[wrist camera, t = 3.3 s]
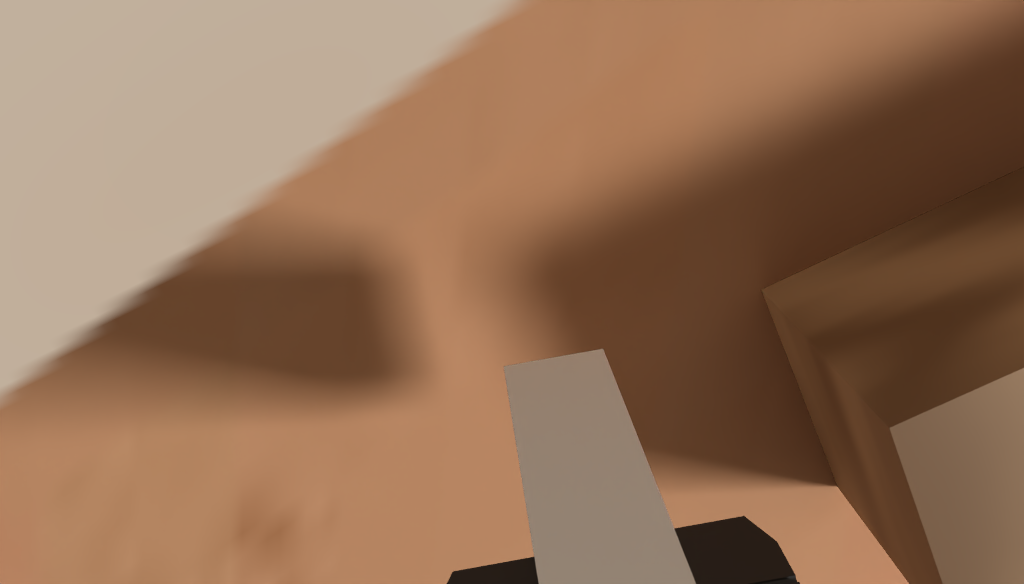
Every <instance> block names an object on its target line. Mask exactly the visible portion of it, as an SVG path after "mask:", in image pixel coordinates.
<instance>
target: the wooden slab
mask: <svg viewBox="0 0 1024 584" xmlns="http://www.w3.org/2000/svg"><path fill="white" fill-rule="evenodd" d="M761 291H762V293H763V296H764V298H765V301H766V303H767V306H768V309H769V311H770V314H771V316H772V319H773V321H774V324H775V327H776V329H777V332H778V334H779V337H780V340H781V342H782V345H783V347H784V350H785V352H786V355H787V358H788V360H789V363H790V365H791V368H792V371H793V373H794V376H795V378H796V381H797V383H798V386H799V389H800V391H801V394H802V396H803V399H804V401H805V404H806V407H807V409H808V412H809V414H810V417H811V420H812V422H813V425H814V427H815V430H816V432H817V435H818V438H819V440H820V443H821V445H822V448H823V450H824V453H825V456H826V458H827V461H828V463H829V466H830V469H831V471H832V474H833V476H834V479H835V481H836V484H837V487H838V488H839V489H840V491H841V492H842V493H843V495H844V496H845V497H846V499H847V500H848V501H849V503H850V504H851V505H852V507H853V508H854V509H855V511H856V512H857V514H858V515H859V516H860V518H861V519H862V520H863V522H864V523H865V524H866V526H867V527H868V528H869V530H870V531H871V532H872V534H873V535H874V537H875V538H876V539H877V541H878V542H879V543H880V545H881V546H882V547H883V549H884V550H885V551H886V553H887V554H888V555H889V557H890V558H891V559H892V561H893V562H894V564H895V565H896V566H897V568H898V569H899V570H900V572H901V573H902V574H903V576H904V577H905V578H906V580H907V581H908V582H909V584H1024V167H1023V168H1021V169H1018V170H1016V171H1014V172H1012V173H1010V174H1008V175H1006V176H1003V177H1001V178H999V179H997V180H995V181H993V182H991V183H988V184H986V185H984V186H982V187H980V188H978V189H976V190H973V191H971V192H969V193H967V194H965V195H963V196H961V197H959V198H956V199H954V200H952V201H950V202H948V203H946V204H944V205H941V206H939V207H937V208H935V209H933V210H931V211H929V212H926V213H924V214H922V215H920V216H918V217H916V218H914V219H911V220H909V221H907V222H905V223H903V224H901V225H899V226H896V227H894V228H892V229H890V230H888V231H886V232H884V233H881V234H879V235H877V236H875V237H873V238H871V239H869V240H866V241H864V242H862V243H860V244H858V245H856V246H854V247H851V248H849V249H847V250H845V251H843V252H841V253H839V254H836V255H834V256H832V257H830V258H828V259H826V260H824V261H822V262H819V263H817V264H815V265H813V266H811V267H809V268H807V269H804V270H802V271H800V272H798V273H796V274H794V275H792V276H789V277H787V278H785V279H783V280H781V281H779V282H777V283H774V284H772V285H770V286H768V287H766V288H764V289H762V290H761Z"/></svg>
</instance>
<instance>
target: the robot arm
mask: <svg viewBox="0 0 1024 584" xmlns="http://www.w3.org/2000/svg"><path fill="white" fill-rule="evenodd" d="M504 371H505V377H506V384H507V390H508V396H509V402H510V408H511V415H512V421H513V427H514V433H515V440H516V446H517V452H518V458H519V464H520V471H521V477H522V483H523V489H524V496H525V502H526V508H527V514H528V520H529V527H530V533H531V539H532V545H533V552H534V557H531V558H525V559H520V560H514V561H509V562H503V563H498V564H492V565H487V566H481V567H476V568H470V569H465V570H459V571H454V572H452V575H451V577H450V579H449V581H448V583H447V584H800V583H799V582H797V580H796V576H795V574H794V572H793V570H792V568H791V566H790V565H789V563H788V561H787V559H786V557H785V556H784V554H783V552H782V550H781V548H780V546H779V545H778V543H777V541H775V540H774V539H773V538H772V537H770V536H769V535H768V534H766V533H765V532H764V531H763V530H761V529H760V528H759V527H757V526H756V525H755V524H754V523H752V522H751V521H750V520H748V519H747V518H746V517H745V516H742V517H736V518H731V519H725V520H719V521H714V522H708V523H703V524H697V525H692V526H686V527H681V528H675V529H674V527H673V524H672V522H671V519H670V517H669V514H668V512H667V509H666V507H665V504H664V502H663V499H662V496H661V494H660V491H659V489H658V486H657V484H656V481H655V479H654V476H653V474H652V471H651V469H650V466H649V464H648V461H647V459H646V456H645V453H644V451H643V448H642V446H641V443H640V441H639V438H638V436H637V433H636V431H635V428H634V426H633V423H632V421H631V418H630V416H629V413H628V411H627V408H626V405H625V403H624V400H623V398H622V395H621V393H620V390H619V388H618V385H617V383H616V380H615V378H614V375H613V373H612V370H611V368H610V365H609V362H608V360H607V357H606V355H605V352H604V350H603V349H599V350H593V351H587V352H582V353H576V354H570V355H565V356H559V357H554V358H548V359H542V360H537V361H531V362H525V363H520V364H514V365H508V366H504Z"/></svg>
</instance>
